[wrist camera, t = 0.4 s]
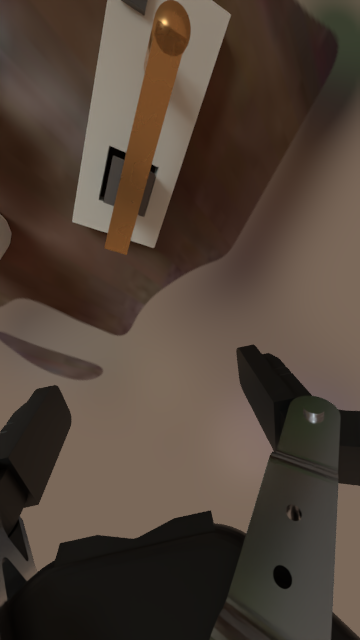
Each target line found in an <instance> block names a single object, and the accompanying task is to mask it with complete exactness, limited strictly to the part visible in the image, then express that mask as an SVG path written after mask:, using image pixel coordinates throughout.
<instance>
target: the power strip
mask: <svg viewBox="0 0 360 640" xmlns="http://www.w3.org/2000/svg"><path fill="white" fill-rule="evenodd" d="M165 1H167V0H107V6H106V12H105V18H104V25H103V31H102V37H101V43H100V50H99V56H98V62H97V68H96V75H95V81H94V87H93V94H92V100H91V106H90V112H89V119H88V125H87V131H86V137H85V144H84V150H83V156H82V163H81V169H80V175H79V181H78V188H77V194H76V200H75V206H74V213H73V219H72V222H74V223H77V224H81V225H84V226H87V227H90V228H93V229H96V230H99V231H102V232H105V233H108V229H109V225H110V220H111V216H112V212H113V207H114V206H112V205H109V204H106V203H104V202H103V201H104V197H102V196H101V191H102V186H103V181H104V176H105V171H106V166H107V161H108V156H109V151H110V146H111V147H114V148H116V149H118V150H120V151H123V152H125V153H126V151H127V147H128V142H129V138H130V134H131V129H132V125H133V121H134V116H135V112H136V108H137V103H138V99H139V95H140V90H141V86H142V82H143V77H144V60H145V56H146V52H147V47H148V43H149V39H150V34H151V30H152V25H153V21H154V17H155V13H156V11H157V9H158V7H159V6H160V5H161V4H162V3H163V2H165ZM174 1H177V2H179V3H180V4H181V5H182V6H183V7H184V9H185V10H186V12H187V14H188V17H189V20H190V26H191V35H190V40H189V43H188V46H187V48H186V49H185V51H184V53H183V54H182V57H181V61H180V64H179V68H178V71H177V75H176V79H175V82H174V86H173V89H172V93H171V97H170V100H169V104H168V107H167V111H166V115H165V118H164V122H163V125H162V129H161V133H160V136H159V140H158V143H157V147H156V151H155V154H154V158H153V161H152V165H154V166H156V168H155V171H154V174H156V175H155V179H154V182H153V186H152V189H151V193H150V196H149V200H148V203H147V206H146V210H145V213H144V217H142V216H139V215H137V219H136V222H135V226H134V230H133V233H132V237H131V240H130V241H133V242H136V243H139V244H142V245H145V246H148V247H152V248H154V247H155V244H156V241H157V238H158V235H159V232H160V229H161V226H162V223H163V220H164V217H165V214H166V211H167V208H168V205H169V202H170V199H171V196H172V193H173V190H174V187H175V184H176V180H177V177H178V174H179V171H180V168H181V165H182V162H183V159H184V156H185V153H186V150H187V147H188V144H189V141H190V138H191V135H192V132H193V129H194V126H195V123H196V120H197V117H198V114H199V111H200V108H201V105H202V102H203V98H204V95H205V92H206V89H207V86H208V83H209V80H210V77H211V74H212V71H213V68H214V65H215V62H216V59H217V56H218V53H219V50H220V47H221V44H222V41H223V38H224V35H225V32H226V29H227V26H228V23H229V19H230V16H231V14H230V13H228V12H227V11H226V10H224V9H223V8H222V7H220V6H219V5H218V4H216V3H215V2H214V1H212V0H174Z"/></svg>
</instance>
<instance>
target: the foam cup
mask: <svg viewBox="0 0 360 640" xmlns="http://www.w3.org/2000/svg"><path fill="white" fill-rule="evenodd" d="M11 234H12V233H11V230H10V228H9V225H8V223H7V221H6V220H5V218H4V217H3V216H2V215H1V214H0V260H1V258H2V256H3V255H4V253H5V252H6V250H7V248H8V247H9V245H10V242H11Z"/></svg>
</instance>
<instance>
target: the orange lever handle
mask: <svg viewBox="0 0 360 640" xmlns="http://www.w3.org/2000/svg"><path fill="white" fill-rule="evenodd" d="M190 35H191V26H190V20H189V17H188V14H187V12H186V10H185V9H184V7H183V6H182V5H181V4H180V3H179V2H177V1H174V0H167V1H165V2H163V3H162V4H161V5H160V6H159V7H158V9H157V11H156V13H155V17H154V21H153V25H152V30H151V34H150V39H149V43H148V47H147V52H146V56H145V60H144V77H143V82H142V86H141V90H140V95H139V99H138V103H137V108H136V112H135V116H134V121H133V125H132V129H131V134H130V138H129V142H128V147H127V151H126V155H125V160H124V164H123V168H122V173H121V177H120V181H119V186H118V190H117V194H116V199H115V203H114V207H113V212H112V216H111V220H110V225H109V229H108V233H107V238H106V243H105V249H109V250H112V251H115V252H119V253H122V254H125V255H127V251H128V248H129V244H130V240H131V237H132V233H133V230H134V226H135V222H136V219H137V215H138V212H139V208H140V204H141V201H142V197H143V194H144V190H145V186H146V183H147V179H148V176H149V172H150V169H151V165H152V161H153V158H154V154H155V151H156V147H157V143H158V140H159V136H160V133H161V129H162V125H163V122H164V118H165V115H166V111H167V107H168V104H169V100H170V97H171V93H172V89H173V86H174V82H175V79H176V75H177V71H178V68H179V64H180V61H181V57H182V54H183V53H184V51H185V49H186V48H187V46H188V43H189V40H190Z"/></svg>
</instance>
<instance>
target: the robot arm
mask: <svg viewBox="0 0 360 640" xmlns="http://www.w3.org/2000/svg"><path fill="white" fill-rule="evenodd" d="M237 361H238V371H239V379H240V384H241V387H242V389H243V392H244V394H245V396H246V398H247V399H248V402H249V403H250V405H251V407H252V409H253V411H254V413H255V415H256V417H257V419H258V421H259V423H260V425H261V427H262V429H263V431H264V433H265V435H266V437H267V439H268V440H269V442H270V444H271V446H272V448H273V450H274V452H272V453H271V455H270V457H269V460H268V463H267V467H266V470H265V473H264V477H263V480H262V483H261V487H260V490H259V494H258V497H257V500H256V503H255V507H254V511H253V514H252V517H251V520H250V523H249V527H248V530H247V533H244V532H242V531H241V530H238V529H236V528H233V527H230V526H227V525H222V524H215V523H213V518H212V514H211V511H206V512H202V513H197V514H192V515H188V516H183V517H178V518H174V519H172V520H170V521H168V522H167V523H165V524H163V525H161V526H159V527H157V528H155V529H153V530H151V531H150V532H148V533H146V534H144V535H142V536H140V537H138V538H135V539H128V538H119V537H110V536H100V535H96V536H91V537H87V538H82V539H78V540H74V541H68V542H64V543H60V545H59V549H58V553H57V556H56V559H55V561H53V562H52V563H50V564H48V565H47V566H45V567H44V568H42V569H41V570H40V571H38V572H37V569H36V567H35V563H34V559H33V556H32V552H31V548H30V545H29V541H28V537H27V534H26V530H25V526H24V523H23V520H22V518H21V517H20V514H21V512H22V509H23V508H25V507H30V506H34V505H38V504H39V502H40V500H41V497H42V494H43V492H44V490H45V487H46V485H47V482H48V480H49V478H50V475H51V473H52V470H53V468H54V465H55V463H56V460H57V458H58V456H59V453H60V451H61V448H62V446H63V443H64V441H65V439H66V436H67V434H68V431H69V429H70V426H71V414H70V411H69V409H68V406H67V404H66V402H65V400H64V398H63V395H62V393H61V391H60V389H59V388H58V386H56V385H54V386H49V387H44V388H39V389H36V390H35V391H34V393H33V394H32V396H31V397H30V399H29V400H28V401H27V403H25V404H24V405H23V406H21V407H20V408H19V409H18V410H17V411H16V412H15V413H14V414H13V415H12V417H11V418H10V419H9V421H8V422H7V425H5V426H4V427H3V429H2V430H1V432H0V640H360V638H359V637H358V636H357V635H356V634H355V633H354V632H353V631H352V630H351V629H350V628H349V627H348V626H347V625H346V624H345V623H344V622H342V621H341V620H340V619H339V618H338V617H337V616H336V615H335V614H334V613H333V612H332V606H333V586H334V564H335V542H336V521H337V499H338V483H343V484H351V485H359V486H360V411H344V410H338V409H337V408H336V407H335V405H333V404H332V403H330V402H329V401H327V400H325V399H323V398H320V397H316V396H312V395H311V394H310V393H309V392H308V391H307V389H306V388H305V387H304V386H303V385H302V384H301V383H300V382H299V380H298V379H297V378H296V377H295V376H294V375H293V374H292V373H291V372H290V370H289V369H288V368H287V367H285V365H284V364H283V363H282V361H281V360H280V359H279V358H277V357H275V356H273V355H271V354H269V353H267V354H261V353H260V351H259V350H258V349H257V347H256V346H255V345H249V346H244V347H240V348H237Z"/></svg>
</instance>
